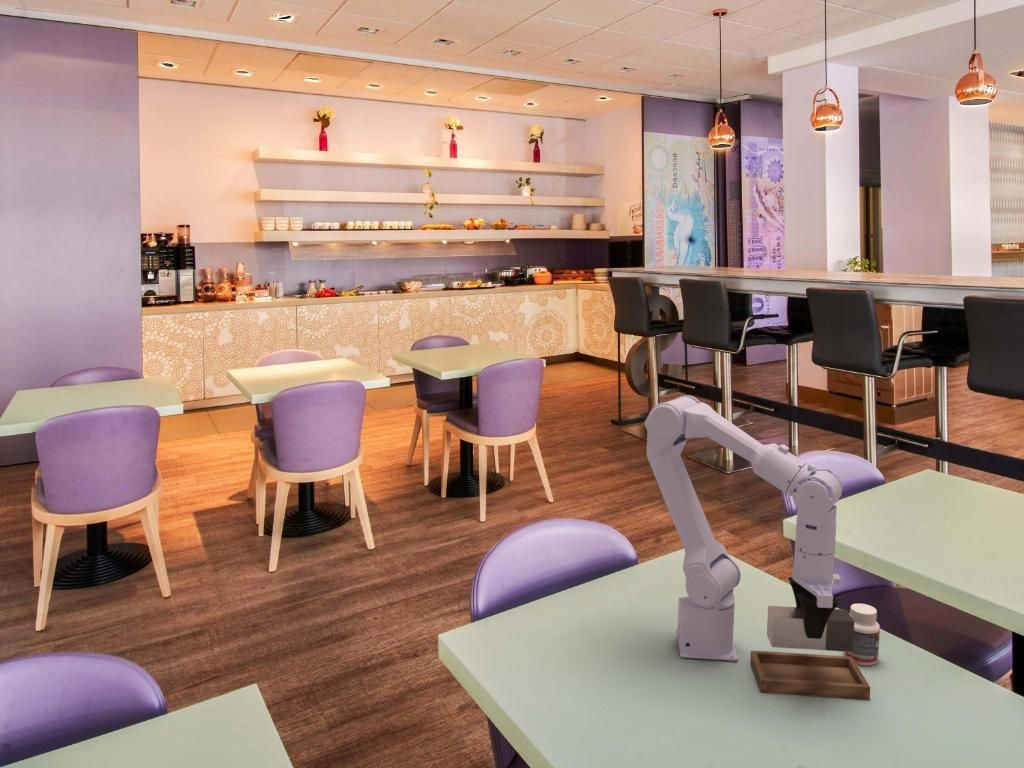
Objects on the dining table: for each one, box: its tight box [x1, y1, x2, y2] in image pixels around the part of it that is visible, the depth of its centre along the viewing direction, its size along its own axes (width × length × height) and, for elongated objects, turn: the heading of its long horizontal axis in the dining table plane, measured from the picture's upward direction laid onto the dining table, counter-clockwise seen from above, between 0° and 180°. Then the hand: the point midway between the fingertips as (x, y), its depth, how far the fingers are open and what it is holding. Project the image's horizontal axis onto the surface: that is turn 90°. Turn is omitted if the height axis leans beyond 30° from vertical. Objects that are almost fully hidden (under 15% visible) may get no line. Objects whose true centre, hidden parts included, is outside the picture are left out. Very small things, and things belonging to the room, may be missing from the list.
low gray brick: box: [766, 605, 854, 652], centre depth 116 cm, size 12×4×5 cm, turn 82°
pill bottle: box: [843, 603, 881, 667], centre depth 123 cm, size 5×5×9 cm
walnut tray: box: [749, 650, 871, 701], centre depth 117 cm, size 16×9×2 cm, turn 82°
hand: (809, 630), depth 116 cm, fingers closed on low gray brick, 4 cm apart
